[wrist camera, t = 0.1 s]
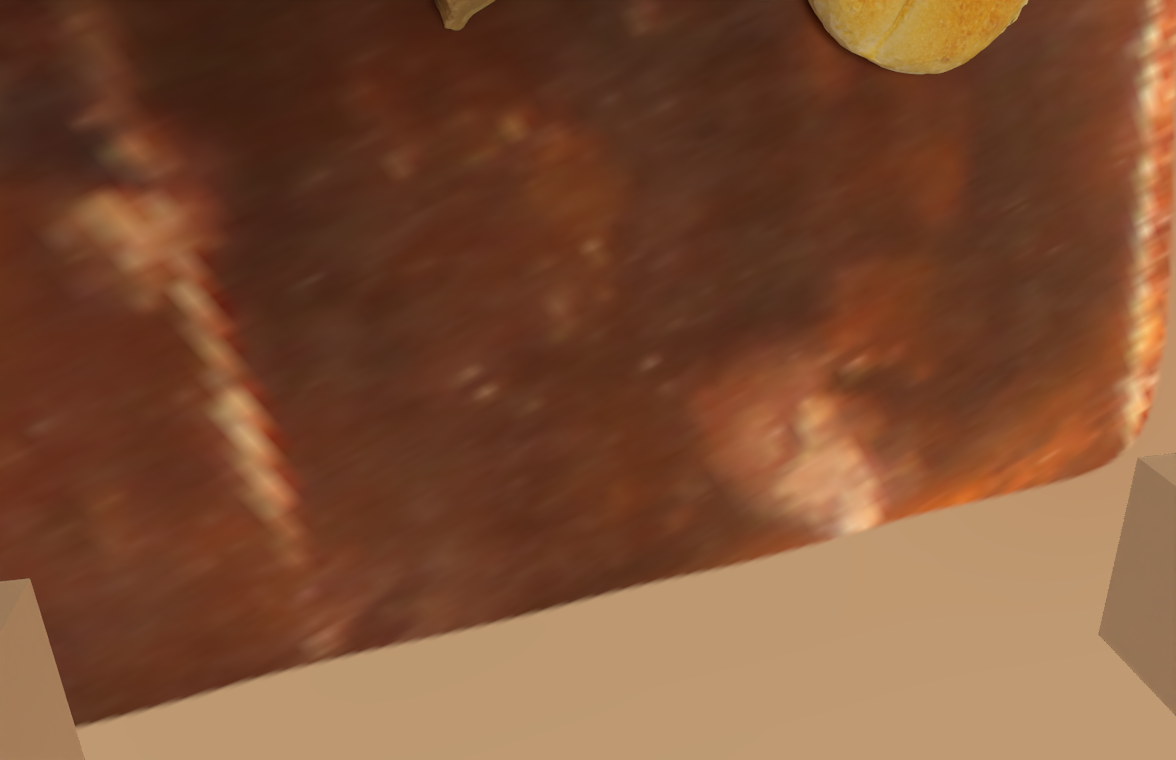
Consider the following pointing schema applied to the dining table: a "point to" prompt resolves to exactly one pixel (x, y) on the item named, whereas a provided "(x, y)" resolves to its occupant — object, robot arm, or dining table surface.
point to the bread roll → (916, 30)
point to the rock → (459, 11)
